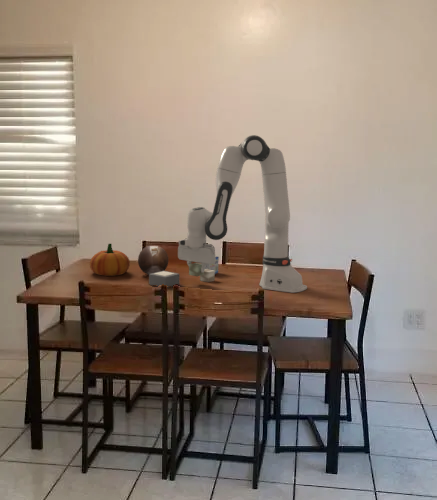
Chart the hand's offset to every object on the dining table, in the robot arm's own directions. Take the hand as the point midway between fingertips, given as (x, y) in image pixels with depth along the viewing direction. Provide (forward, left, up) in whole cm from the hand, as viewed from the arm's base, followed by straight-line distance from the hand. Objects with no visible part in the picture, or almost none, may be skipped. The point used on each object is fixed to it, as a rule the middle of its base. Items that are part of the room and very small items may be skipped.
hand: (196, 271), depth 288 cm
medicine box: (+8, -22, -6) cm, 24 cm away
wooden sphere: (+27, 0, -6) cm, 28 cm away
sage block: (0, 0, -2) cm, 2 cm away
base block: (+10, +11, -6) cm, 16 cm away
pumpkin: (+45, +12, -6) cm, 47 cm away
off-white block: (0, -9, -6) cm, 11 cm away
